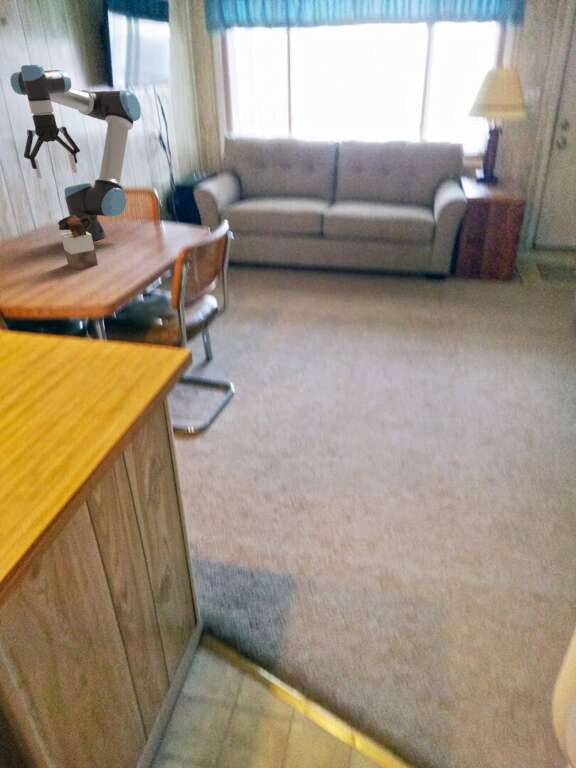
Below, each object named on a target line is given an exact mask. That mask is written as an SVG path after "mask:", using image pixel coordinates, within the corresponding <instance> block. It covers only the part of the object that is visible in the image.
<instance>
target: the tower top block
mask: <svg viewBox="0 0 576 768" xmlns="http://www.w3.org/2000/svg"><path fill="white" fill-rule="evenodd" d="M86 234H87V235H81V236H78V237H76V238H74V237H73V235H72V234H71V232H70V231H69V232H64V233H60V237H61V241H62V246H63V250H64V251H65V250H66V251H67V252H68V253H70V254H76V253H81V252H86V251H91V250H95V247H94V241H93V240H92V236H91V234H90V233H88V232H86Z"/></svg>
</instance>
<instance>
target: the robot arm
mask: <svg viewBox="0 0 576 768" xmlns="http://www.w3.org/2000/svg"><path fill="white" fill-rule="evenodd" d="M10 86H11V87H12V89H13V91H14V92H15V94H18V95H22V96H27V99H28V104H29V105H28V106H29V109H30V112H31V114H33V115H32V120H33V124H34V128H35V129H34V130H31V129H27V130H26V135H27V138H26V143H25V148H24V152H23V153H24V154H23V158H25V159H28V160H29V161H30V165H31V167H32V169H33V170H35V172H36V176H37V177H36V178H37V179H42V178H43V177H42V172H41V168H40V166H39V161H38V159H36V157H37V156H38V153H39V151H40V148H41V147H42V145H43V144H44V143H49V142H55V141H56V142H57V143H58V144H59V145H60V146H62V147H63V148H64V149H65V150H66V151H68V152H69V153H70V154H69V155H68V156H69V161H70V165H71V169H72V173H74V174H78V171H77V165H76V164H78V158H77V154H78V153H80V152H81V150H80V147H78V146H77V144H76V142H75V141H74V140H73V139H72V136H71V135H70V134H69V132H68V130H67V127H66V126H63V125H62V126H60V127H58V126H57V122H56V117H55V114H54V113H53V112H54V107H53V105H52V103H55V104H58V105H61V106H64V107H67V108H71V109H74V110H77V111H78V112H79V113H80V114H82V115H84V116H88V117H91V118H93V119H97V120H99V121H105V122H106V124H107V127H106V128H107V129H106V135H105V140H104V146H103V151H102V152H103V154H102V159H101V166H100V171H99V177H98V178H97V179H95V180H94V185H92V184H91V182H85V183H79V184H74V185H71V186H70V185H69V186H67V187H65V188H64V191H63V193H64V196H65V197H64V199H65V202H66V206H67V210H68V214H69V215H68V216H71V215H76V217H77V218H83V217H89V218H90V220H91V222H92V224H91V226H90V228H88V230H87V232H88V233H90V234H91V236H92V240H93V242H94V241H98V240H101V239H104V238H106V231H105V230H104V228H103V226H102V224H101V222H100V220H99V218H98V217H99V216H102V217H109V218H110V217H118V216H120V215H122V214H123V213H124V211H125V210H126V206H127V195H126V193H125V191H124V190H123V189H124V188H123V185H122V184H121V177H122V173H123V172H122V171H123V167H124V166H123V165H124V159H125V153H126V147H127V140H128V136H129V135H128V134H129V131H130V130H132V129H133V125H134V122H136V121H138V120H139V119H140V118H141V115H142V113H141V112H142V111H141V105H140V102H139V99H138V97H137V95H135V93H133V92H132V91H131V90H123V89H121V90H103V91H101V90H100V91H90V90H87V89H82V90H80V89H77V88H73V87H72V80H71V77H70V75H69V73H68V72H66V71H65V70H62V69H54V70H44V67H43V65H41V64H28V65H27V64H23V65H22V66H20V71H17V72H14V73H12V74H11V76H10ZM59 133H61V134H62V135H63V136H64V138H65V139H66V140H67V142H68V143H69V145H68V143H66V142H65V141H64V140H63V139H62V138H61V137H60V136H59ZM35 135H36V137H37V140H36V142H35V144H34V146H33V145H32V144H33V140H34V137H35ZM32 146H33V149H32ZM31 150H32V151H31ZM80 222H81V221H80ZM84 224H85V225H86V226H87V224H88V221H85V223H84ZM69 232H71V231H70V230H69Z"/></svg>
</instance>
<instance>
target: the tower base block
mask: <svg viewBox="0 0 576 768" xmlns="http://www.w3.org/2000/svg"><path fill="white" fill-rule="evenodd" d="M64 253H65V258H66V263H67V265H68V266H69V267H71V268H72V269H74V270H81V269H84V267H85V268H88V267H89V266H90V267H94V266H98V265H99V264H98V263H99V262H98V260H97V259H98V258H97V254H96V250H95V249H94V250H91V251H86V252H81V253H76V254H70V253H68V252H67V251H66V250H64ZM93 265H94V266H93Z"/></svg>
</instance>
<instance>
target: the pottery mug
mask: <svg viewBox="0 0 576 768" xmlns="http://www.w3.org/2000/svg"><path fill="white" fill-rule="evenodd" d="M80 221H81V222H80ZM85 221H88V224H87V226H86V225H85V224H84V223H85ZM91 224H92V222H91V220H90V218H89V217H83V218H77V217H76V215H71V216H70V215H68V216H67V217H63V219H60V220H59V221H58V222H57V225H58V226H59V227H58V230H59V231H69V232H70V231H71V234H72V235H73V237H74V238H76V237H78V236H81V235H87V234H86V232H87V230H88V228H90V226H91Z"/></svg>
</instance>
